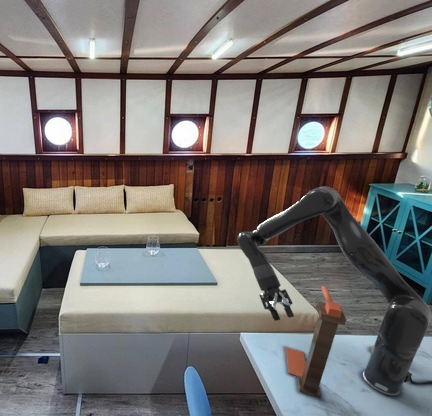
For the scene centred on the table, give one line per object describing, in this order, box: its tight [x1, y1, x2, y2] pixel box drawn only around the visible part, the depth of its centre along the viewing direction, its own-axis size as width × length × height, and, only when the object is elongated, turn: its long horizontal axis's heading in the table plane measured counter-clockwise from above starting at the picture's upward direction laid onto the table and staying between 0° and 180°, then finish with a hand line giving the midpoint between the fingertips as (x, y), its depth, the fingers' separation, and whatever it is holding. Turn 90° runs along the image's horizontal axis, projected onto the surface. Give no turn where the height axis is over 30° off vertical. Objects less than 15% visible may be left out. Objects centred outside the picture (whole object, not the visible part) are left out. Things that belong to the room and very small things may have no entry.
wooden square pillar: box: [296, 301, 347, 399], centre depth 92 cm, size 6×6×32 cm
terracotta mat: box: [285, 347, 306, 377], centre depth 106 cm, size 13×6×1 cm, turn 154°
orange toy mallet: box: [321, 285, 343, 318], centre depth 90 cm, size 15×3×2 cm, turn 154°
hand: (284, 318), depth 109 cm, fingers open, 8 cm apart
